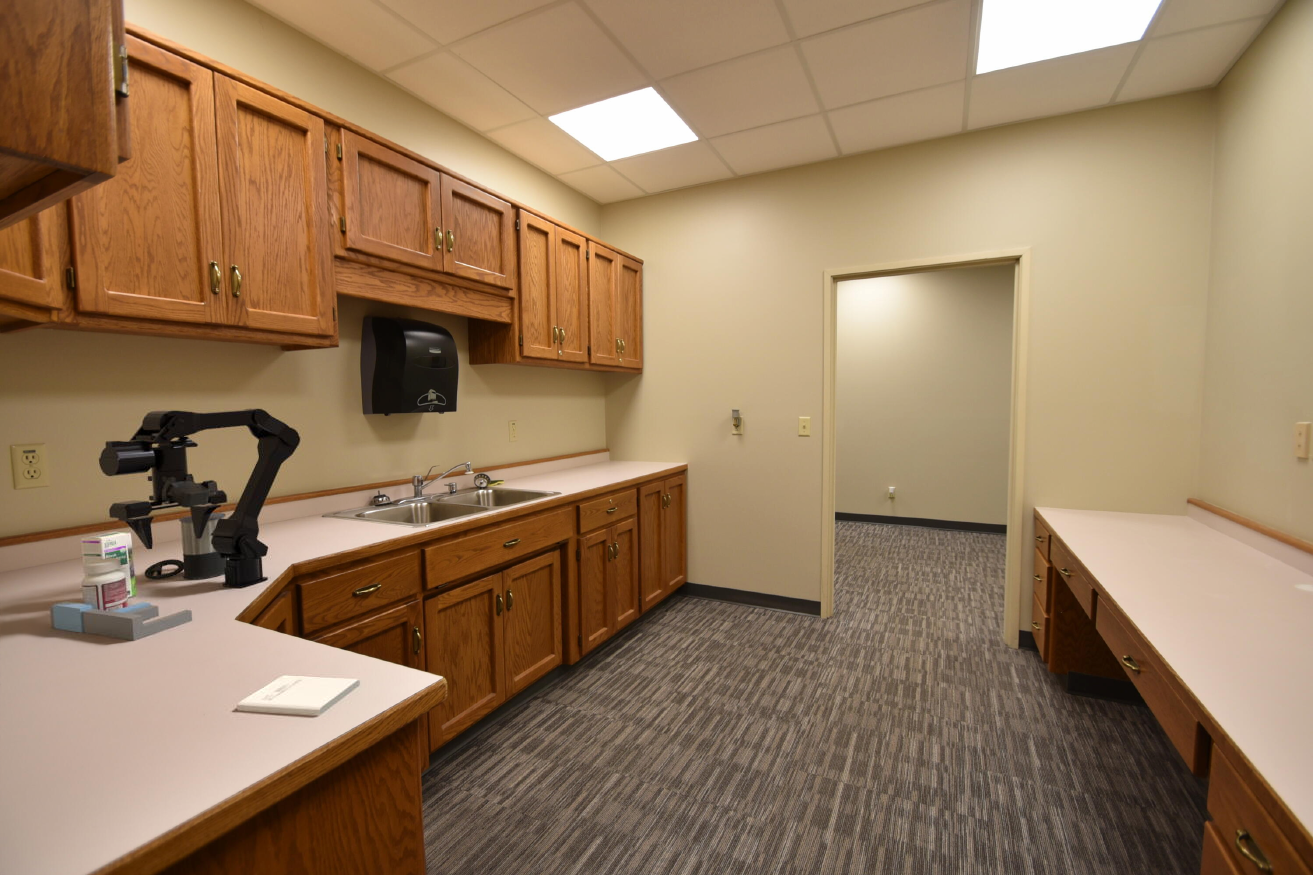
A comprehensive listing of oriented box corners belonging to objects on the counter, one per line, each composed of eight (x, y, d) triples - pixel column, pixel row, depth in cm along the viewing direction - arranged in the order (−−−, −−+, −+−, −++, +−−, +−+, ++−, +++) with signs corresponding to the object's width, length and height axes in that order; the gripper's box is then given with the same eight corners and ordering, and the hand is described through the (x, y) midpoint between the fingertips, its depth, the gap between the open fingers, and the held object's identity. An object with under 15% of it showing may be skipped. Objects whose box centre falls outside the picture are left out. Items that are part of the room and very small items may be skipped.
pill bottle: (133, 609, 114) (128, 555, 113) (122, 619, 108) (117, 562, 108) (92, 615, 111) (87, 559, 110) (79, 625, 105) (74, 567, 105)
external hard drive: (319, 720, 73) (237, 714, 75) (360, 688, 82) (285, 683, 83) (318, 708, 73) (236, 702, 75) (360, 677, 81) (284, 673, 83)
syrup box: (107, 604, 118) (101, 537, 117) (85, 603, 119) (80, 536, 118) (137, 595, 123) (132, 531, 122) (116, 594, 124) (111, 530, 123)
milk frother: (233, 574, 138) (229, 515, 137) (147, 590, 127) (142, 526, 126) (223, 563, 148) (220, 508, 147) (143, 577, 137) (139, 518, 136)
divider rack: (192, 620, 108) (190, 597, 108) (132, 641, 99) (130, 615, 98) (112, 609, 115) (111, 587, 115) (49, 627, 106) (47, 603, 105)
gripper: (143, 476, 104) (149, 557, 105) (242, 465, 122) (247, 535, 123) (104, 475, 108) (110, 554, 109) (207, 465, 126) (211, 532, 126)
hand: (175, 543), depth 117 cm, fingers open, 9 cm apart
